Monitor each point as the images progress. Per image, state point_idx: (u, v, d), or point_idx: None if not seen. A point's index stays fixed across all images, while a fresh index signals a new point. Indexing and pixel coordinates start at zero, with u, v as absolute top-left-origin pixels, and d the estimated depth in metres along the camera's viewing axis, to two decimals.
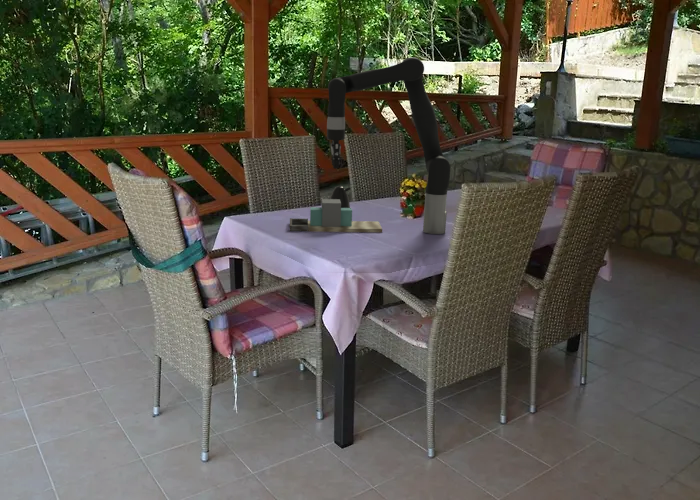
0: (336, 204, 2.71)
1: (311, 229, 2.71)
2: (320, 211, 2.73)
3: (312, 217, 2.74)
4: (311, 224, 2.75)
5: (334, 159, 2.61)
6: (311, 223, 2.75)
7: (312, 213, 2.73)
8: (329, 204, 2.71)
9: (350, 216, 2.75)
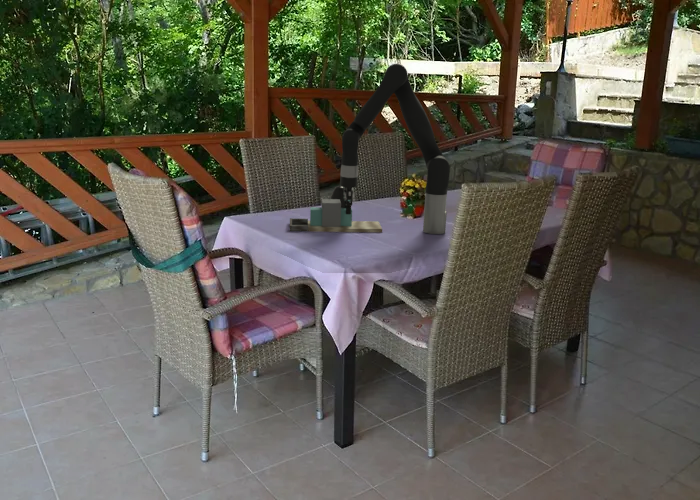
0: (336, 204, 2.71)
1: (311, 229, 2.71)
2: (320, 211, 2.73)
3: (312, 217, 2.74)
4: (311, 224, 2.75)
5: (347, 205, 2.71)
6: (311, 223, 2.75)
7: (312, 213, 2.73)
8: (329, 204, 2.71)
9: (350, 216, 2.75)
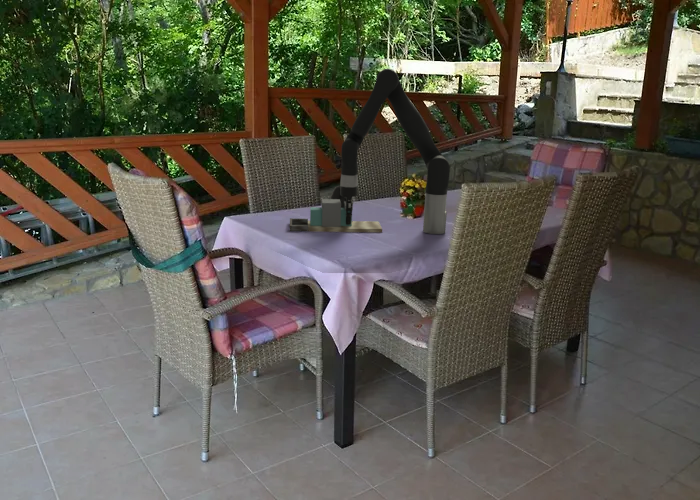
0: (336, 204, 2.71)
1: (311, 229, 2.71)
2: (320, 211, 2.73)
3: (312, 217, 2.74)
4: (311, 224, 2.75)
5: (347, 216, 2.74)
6: (311, 223, 2.75)
7: (312, 213, 2.73)
8: (329, 204, 2.71)
9: None
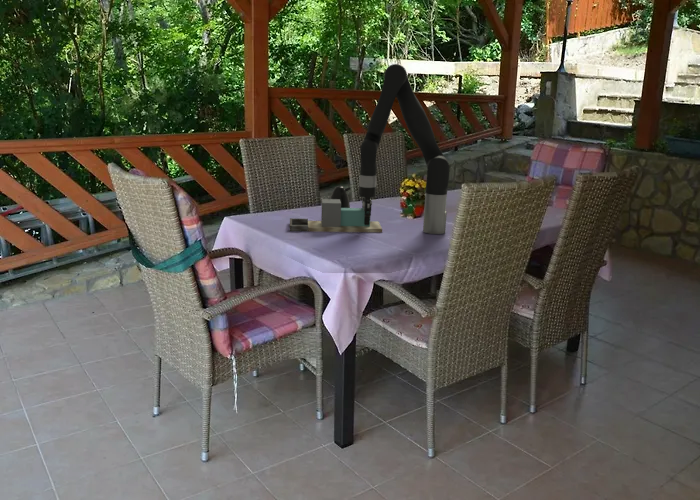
0: (336, 204, 2.71)
1: (311, 229, 2.71)
2: None
3: None
4: None
5: (365, 216, 2.75)
6: None
7: None
8: (329, 204, 2.71)
9: None
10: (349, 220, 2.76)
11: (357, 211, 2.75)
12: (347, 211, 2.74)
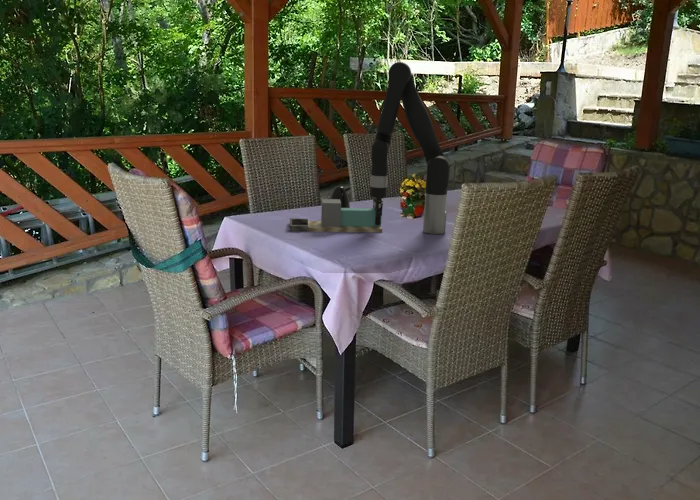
0: (336, 204, 2.71)
1: (311, 229, 2.71)
2: (350, 211, 2.74)
3: (342, 217, 2.75)
4: (341, 224, 2.76)
5: (376, 216, 2.75)
6: (341, 223, 2.76)
7: (342, 213, 2.74)
8: (329, 204, 2.71)
9: None
10: (360, 220, 2.76)
11: (368, 211, 2.75)
12: (358, 211, 2.75)
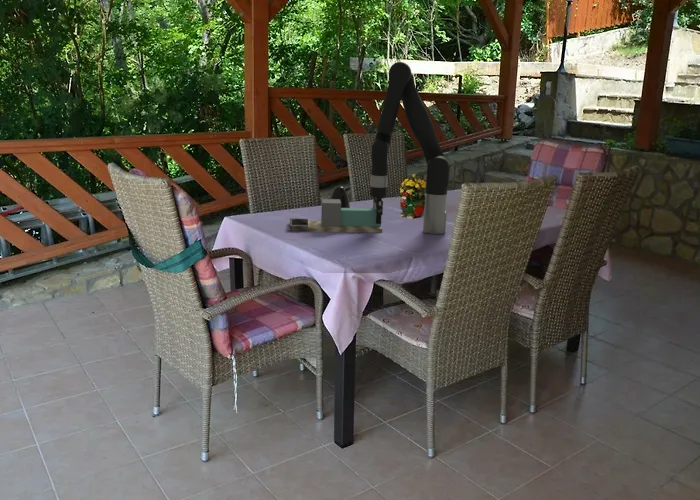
0: (336, 204, 2.71)
1: (311, 229, 2.71)
2: (350, 211, 2.74)
3: (342, 217, 2.75)
4: (341, 224, 2.76)
5: (377, 215, 2.74)
6: (341, 223, 2.76)
7: (342, 213, 2.74)
8: (329, 204, 2.71)
9: None
10: (360, 220, 2.76)
11: (368, 211, 2.75)
12: (358, 211, 2.75)
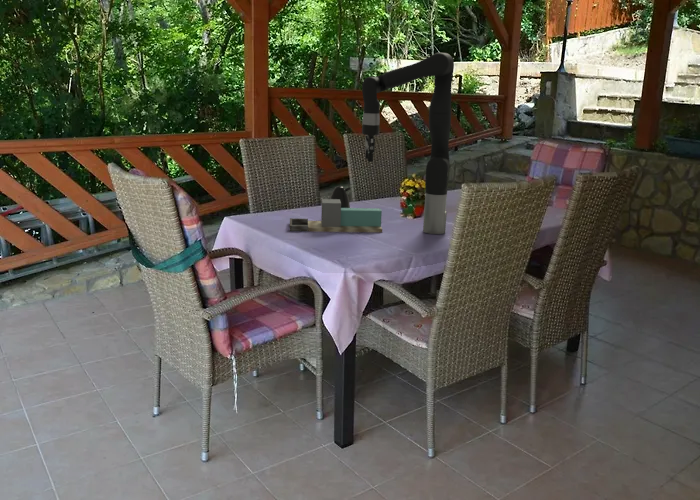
0: (336, 204, 2.71)
1: (311, 229, 2.71)
2: (350, 211, 2.74)
3: (342, 217, 2.75)
4: (341, 224, 2.76)
5: (369, 153, 2.77)
6: (341, 223, 2.76)
7: (342, 213, 2.74)
8: (329, 204, 2.71)
9: (379, 216, 2.76)
10: (360, 220, 2.76)
11: (368, 211, 2.75)
12: (358, 211, 2.75)
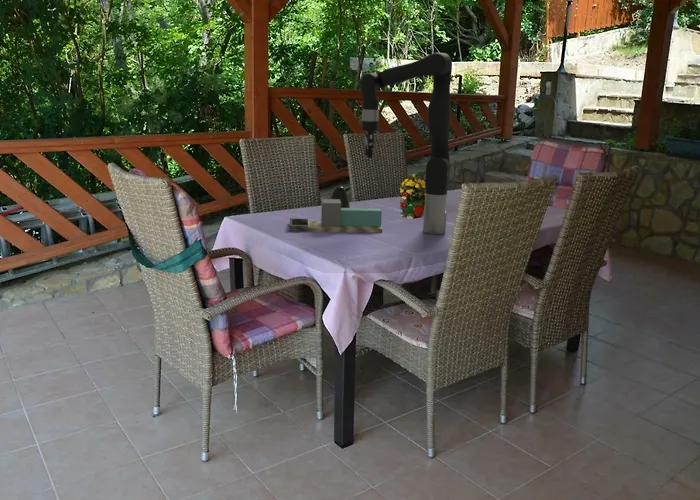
0: (336, 204, 2.71)
1: (311, 229, 2.71)
2: (350, 211, 2.74)
3: (342, 217, 2.75)
4: (341, 224, 2.76)
5: (368, 149, 2.78)
6: (341, 223, 2.76)
7: (342, 213, 2.74)
8: (329, 204, 2.71)
9: (379, 216, 2.76)
10: (360, 220, 2.76)
11: (368, 211, 2.75)
12: (358, 211, 2.75)
